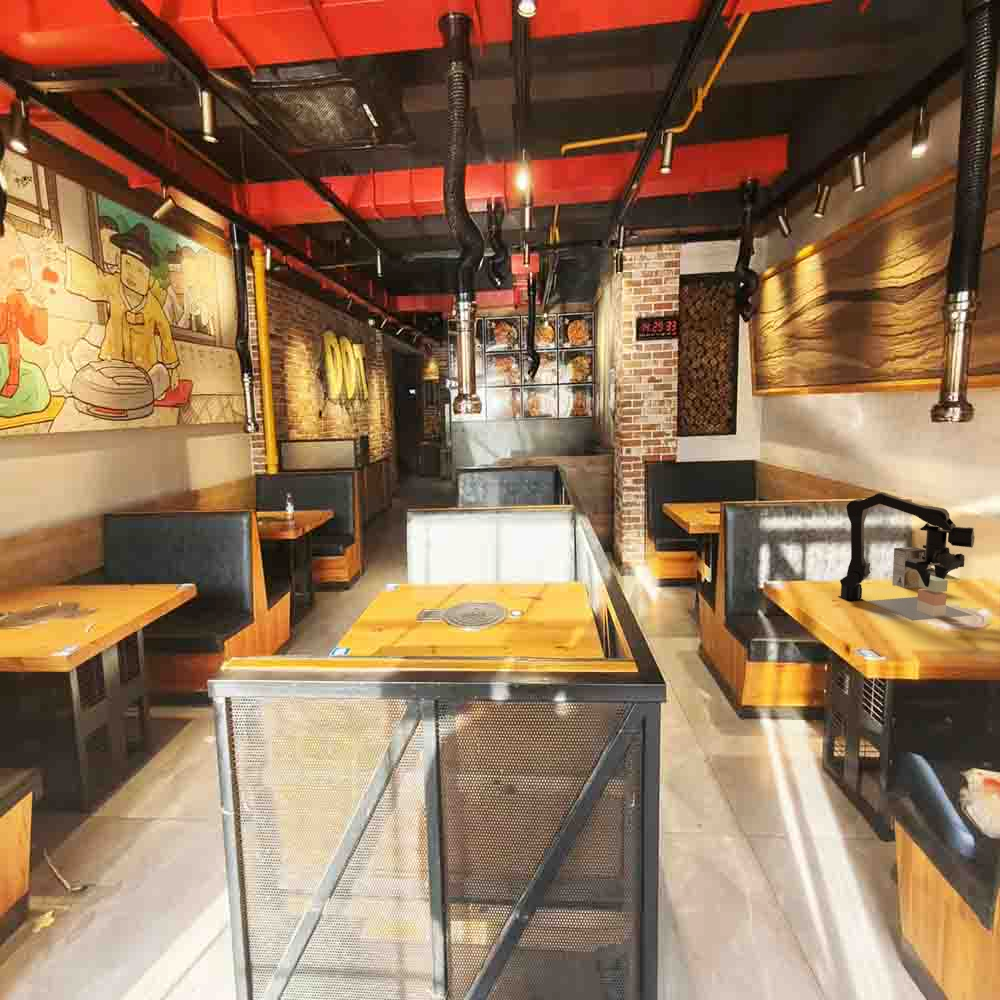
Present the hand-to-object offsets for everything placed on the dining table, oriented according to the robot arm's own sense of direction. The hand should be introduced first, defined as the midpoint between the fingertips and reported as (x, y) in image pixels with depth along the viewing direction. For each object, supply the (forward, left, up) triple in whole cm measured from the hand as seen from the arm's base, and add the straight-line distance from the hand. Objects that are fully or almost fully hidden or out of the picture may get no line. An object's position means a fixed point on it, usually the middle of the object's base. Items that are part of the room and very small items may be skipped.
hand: (932, 586), depth 209 cm
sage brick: (0, 0, -1) cm, 1 cm away
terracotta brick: (0, 0, -6) cm, 6 cm away
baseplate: (0, +6, -10) cm, 12 cm away
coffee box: (+19, +31, -11) cm, 38 cm away
